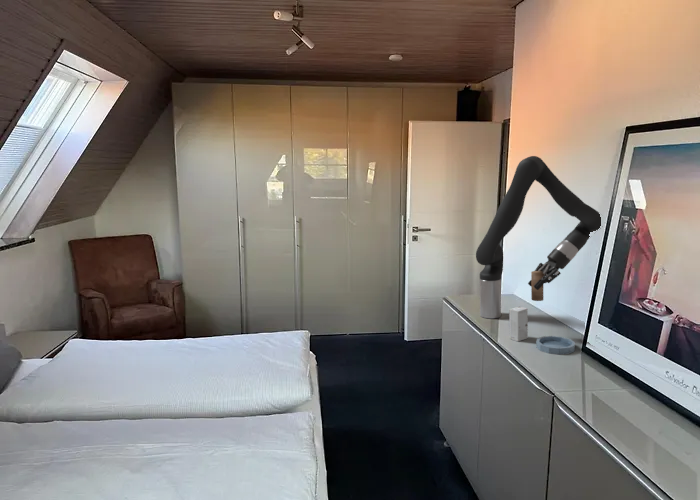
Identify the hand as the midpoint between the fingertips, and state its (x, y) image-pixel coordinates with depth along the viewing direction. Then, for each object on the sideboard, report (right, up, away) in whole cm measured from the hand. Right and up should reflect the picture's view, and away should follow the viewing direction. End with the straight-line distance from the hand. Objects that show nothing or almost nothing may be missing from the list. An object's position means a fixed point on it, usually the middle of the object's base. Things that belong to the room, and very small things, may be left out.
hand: (532, 286), depth 192 cm
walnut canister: (+2, -5, +1) cm, 6 cm away
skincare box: (-5, -21, +1) cm, 21 cm away
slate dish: (+5, -22, -10) cm, 24 cm away
